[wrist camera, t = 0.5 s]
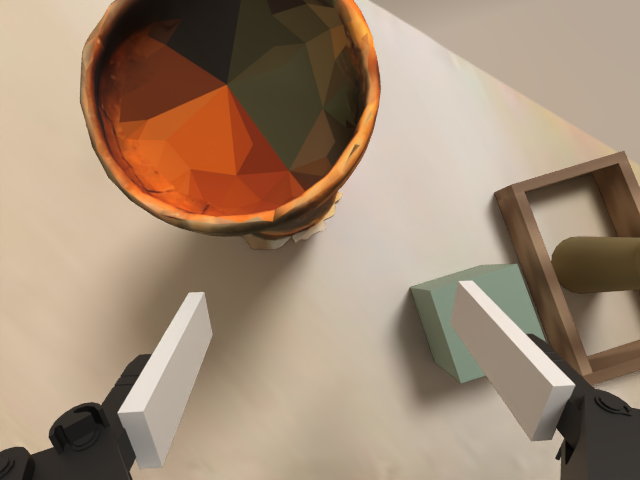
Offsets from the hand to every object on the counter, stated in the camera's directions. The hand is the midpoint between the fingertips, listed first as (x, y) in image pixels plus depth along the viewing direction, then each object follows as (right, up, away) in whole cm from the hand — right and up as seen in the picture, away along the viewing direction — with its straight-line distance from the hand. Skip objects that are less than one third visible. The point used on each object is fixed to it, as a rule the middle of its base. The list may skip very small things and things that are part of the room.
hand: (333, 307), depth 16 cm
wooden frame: (+27, +1, +17) cm, 32 cm away
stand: (+14, -4, +16) cm, 22 cm away
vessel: (-5, +9, +18) cm, 20 cm away
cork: (+27, +1, +17) cm, 32 cm away
